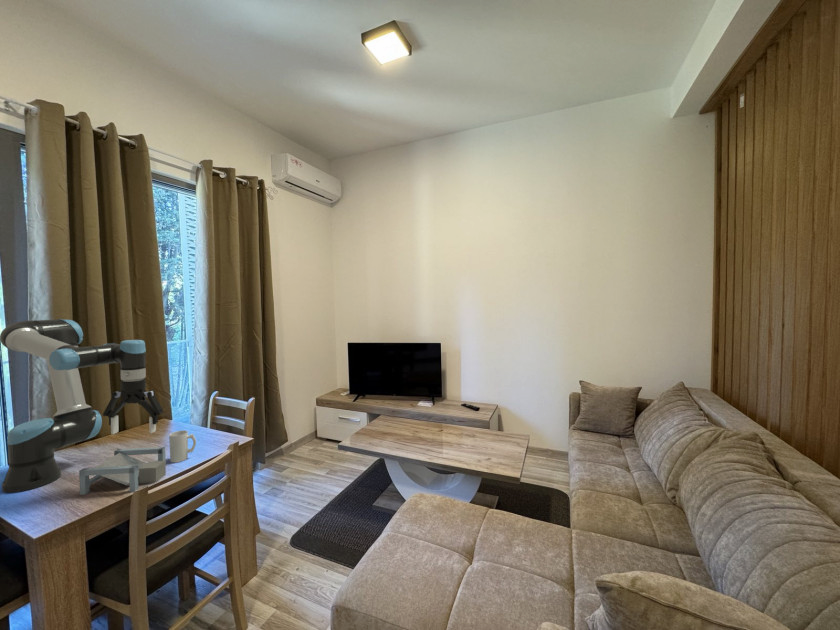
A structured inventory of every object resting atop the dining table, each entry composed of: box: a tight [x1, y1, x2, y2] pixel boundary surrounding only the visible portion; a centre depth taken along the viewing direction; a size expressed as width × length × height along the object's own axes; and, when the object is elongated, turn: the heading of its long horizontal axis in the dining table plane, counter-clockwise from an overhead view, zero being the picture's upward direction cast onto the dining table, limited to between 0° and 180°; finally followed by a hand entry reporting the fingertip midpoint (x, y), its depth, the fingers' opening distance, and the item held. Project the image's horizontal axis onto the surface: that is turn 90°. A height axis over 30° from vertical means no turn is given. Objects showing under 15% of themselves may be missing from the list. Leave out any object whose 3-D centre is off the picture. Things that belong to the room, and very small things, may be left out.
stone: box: [138, 460, 167, 485], centre depth 134 cm, size 6×6×6 cm
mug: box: [168, 430, 197, 463], centre depth 151 cm, size 10×7×12 cm, turn 109°
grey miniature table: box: [78, 446, 166, 496], centre depth 133 cm, size 18×18×9 cm
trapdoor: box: [93, 453, 147, 486], centre depth 132 cm, size 14×14×1 cm
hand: (133, 432), depth 133 cm, fingers open, 13 cm apart
